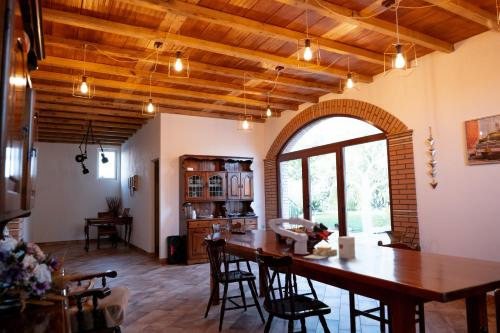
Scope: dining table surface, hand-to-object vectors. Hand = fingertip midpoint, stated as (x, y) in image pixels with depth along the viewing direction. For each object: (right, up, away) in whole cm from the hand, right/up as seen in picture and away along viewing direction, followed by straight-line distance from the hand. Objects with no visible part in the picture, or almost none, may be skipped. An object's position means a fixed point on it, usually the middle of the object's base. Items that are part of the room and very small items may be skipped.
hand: (325, 230), depth 276 cm
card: (-1, -15, +1) cm, 16 cm away
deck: (0, -20, +2) cm, 20 cm away
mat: (-9, -19, -8) cm, 22 cm away
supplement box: (+14, -18, -12) cm, 26 cm away
